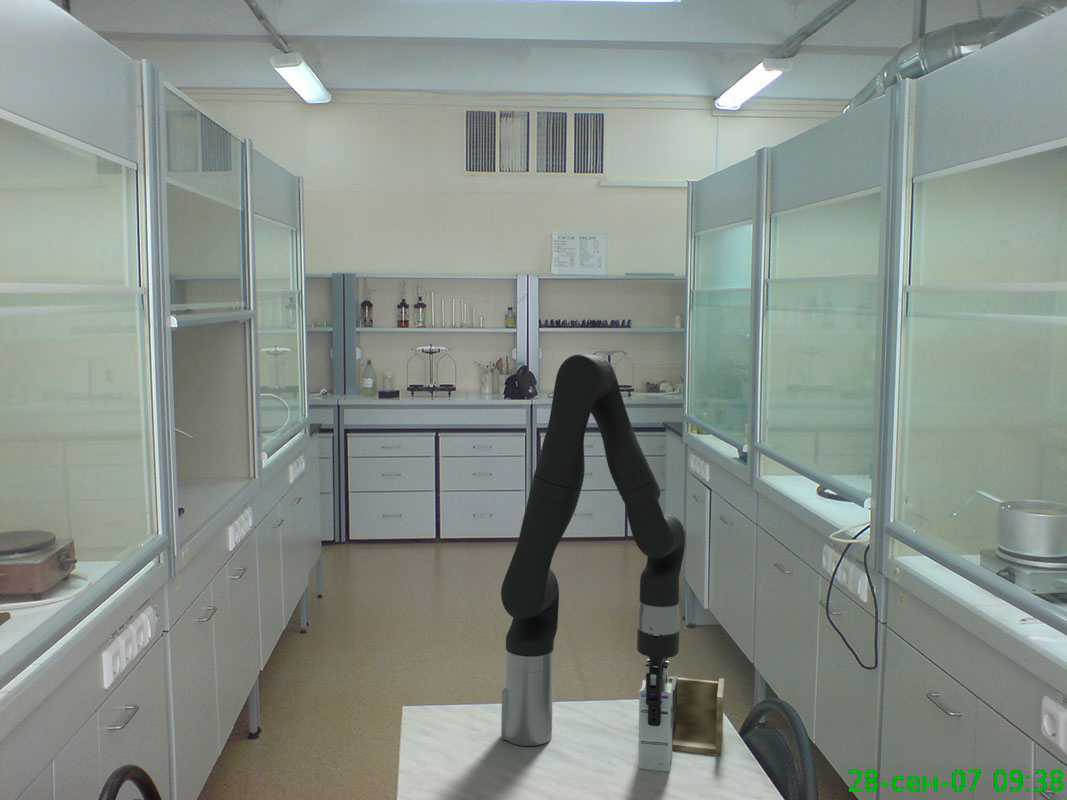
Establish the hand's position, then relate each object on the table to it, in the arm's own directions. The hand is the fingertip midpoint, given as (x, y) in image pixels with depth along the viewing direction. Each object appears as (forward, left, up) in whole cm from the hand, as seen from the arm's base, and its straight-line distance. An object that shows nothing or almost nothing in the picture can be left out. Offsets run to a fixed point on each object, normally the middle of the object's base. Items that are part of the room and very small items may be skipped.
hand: (656, 717), depth 164 cm
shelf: (+4, +12, -9) cm, 15 cm away
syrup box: (0, 0, -9) cm, 9 cm away
